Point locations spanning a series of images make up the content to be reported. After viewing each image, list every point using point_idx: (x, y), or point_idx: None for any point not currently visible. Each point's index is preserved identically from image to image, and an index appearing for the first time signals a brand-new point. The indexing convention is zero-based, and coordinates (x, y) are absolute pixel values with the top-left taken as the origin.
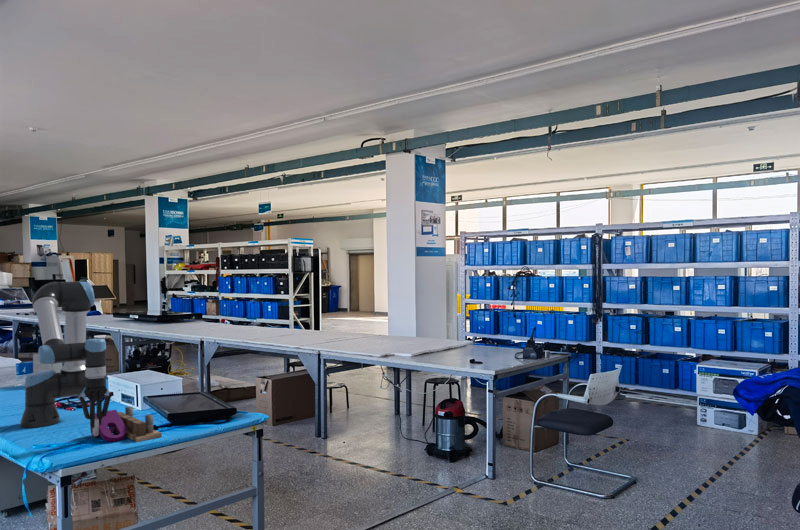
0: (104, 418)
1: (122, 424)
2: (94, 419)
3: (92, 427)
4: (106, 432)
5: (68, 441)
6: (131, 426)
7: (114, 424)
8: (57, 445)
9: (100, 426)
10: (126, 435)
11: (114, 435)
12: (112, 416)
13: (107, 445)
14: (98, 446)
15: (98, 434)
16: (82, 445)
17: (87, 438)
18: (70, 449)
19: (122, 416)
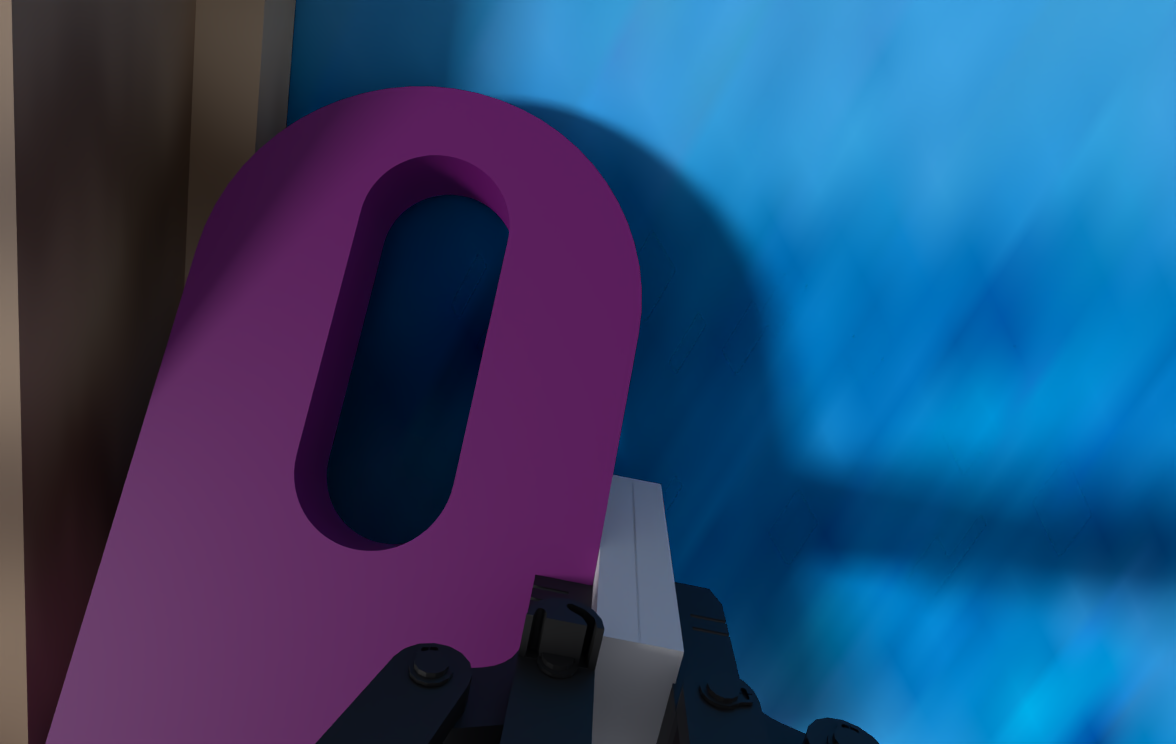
0: None
1: (193, 384)
2: (674, 685)
3: (696, 592)
4: (571, 307)
5: None
6: (107, 172)
7: (306, 490)
8: (1028, 676)
9: (577, 524)
10: None
11: (496, 166)
12: (201, 732)
13: (699, 38)
14: (804, 117)
15: None
16: (882, 392)
17: None
18: (1093, 345)
19: (7, 717)
